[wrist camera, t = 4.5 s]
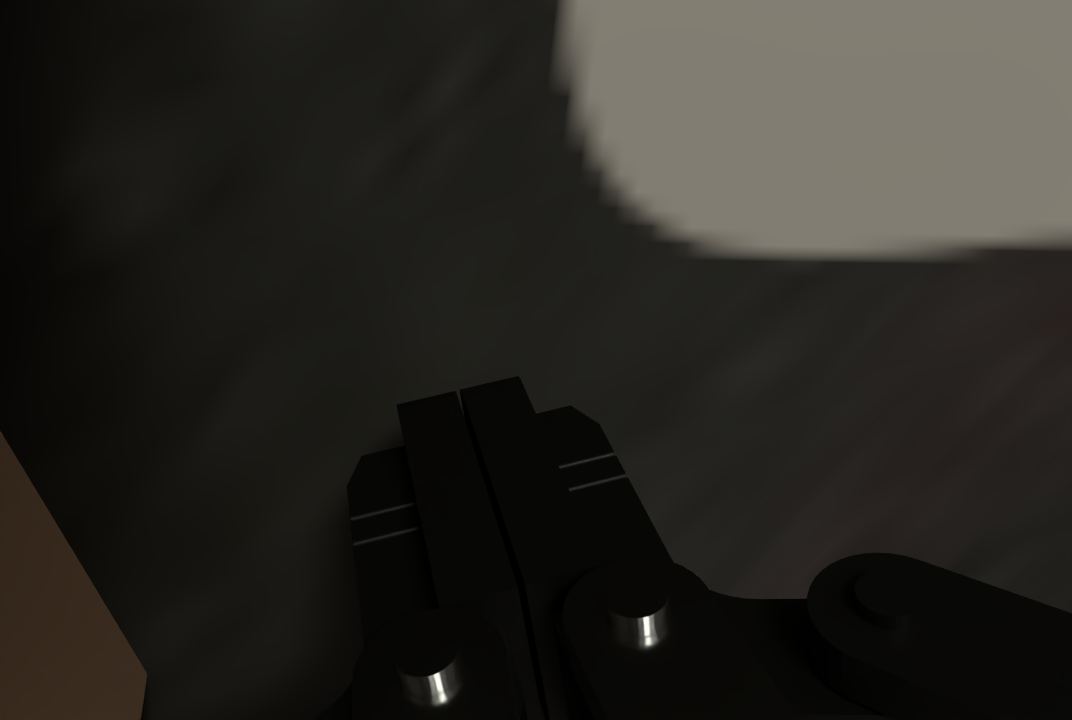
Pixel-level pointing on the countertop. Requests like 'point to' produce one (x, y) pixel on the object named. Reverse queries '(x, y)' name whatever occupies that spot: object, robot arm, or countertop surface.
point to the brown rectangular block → (55, 620)
